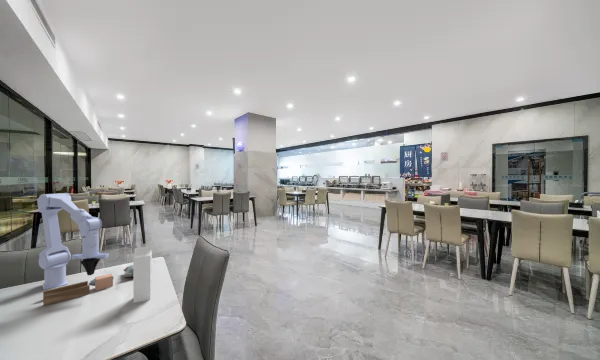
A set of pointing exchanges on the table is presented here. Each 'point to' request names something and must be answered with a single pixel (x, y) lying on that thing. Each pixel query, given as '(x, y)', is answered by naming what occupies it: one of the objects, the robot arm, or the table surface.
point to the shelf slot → (65, 293)
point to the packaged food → (128, 271)
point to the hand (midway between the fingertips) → (90, 274)
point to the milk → (142, 274)
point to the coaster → (94, 281)
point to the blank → (103, 281)
